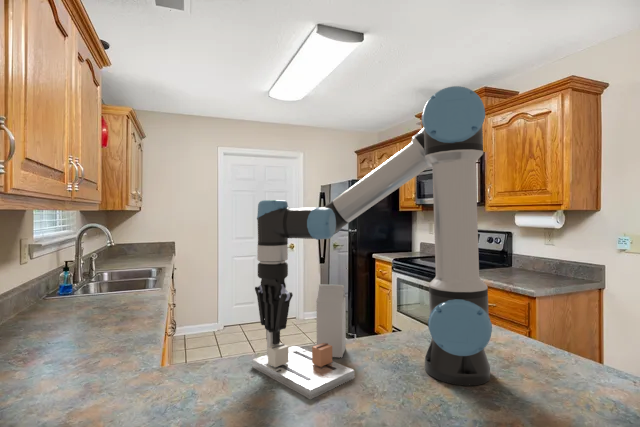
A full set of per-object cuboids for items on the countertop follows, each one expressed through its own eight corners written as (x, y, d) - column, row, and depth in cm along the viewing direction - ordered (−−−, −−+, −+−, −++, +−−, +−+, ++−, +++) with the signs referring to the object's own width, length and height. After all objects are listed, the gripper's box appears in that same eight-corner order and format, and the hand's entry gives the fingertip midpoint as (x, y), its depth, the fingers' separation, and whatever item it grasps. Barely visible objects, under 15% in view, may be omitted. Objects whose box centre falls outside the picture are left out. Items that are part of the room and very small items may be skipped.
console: (354, 378, 86) (354, 369, 86) (310, 399, 76) (310, 389, 76) (295, 352, 102) (294, 345, 102) (252, 367, 92) (252, 359, 92)
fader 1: (288, 362, 90) (288, 345, 90) (275, 367, 87) (275, 349, 87) (281, 358, 92) (281, 341, 92) (268, 363, 89) (268, 345, 89)
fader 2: (332, 362, 90) (332, 344, 90) (320, 366, 87) (320, 348, 87) (323, 358, 92) (323, 341, 92) (312, 363, 89) (312, 345, 89)
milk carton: (342, 358, 98) (342, 288, 98) (316, 356, 99) (316, 286, 99) (345, 348, 105) (345, 282, 105) (321, 346, 106) (321, 282, 106)
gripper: (301, 262, 89) (301, 359, 89) (269, 258, 98) (270, 345, 98) (276, 265, 84) (276, 368, 84) (245, 260, 93) (246, 352, 93)
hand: (273, 355), depth 91 cm, fingers closed
